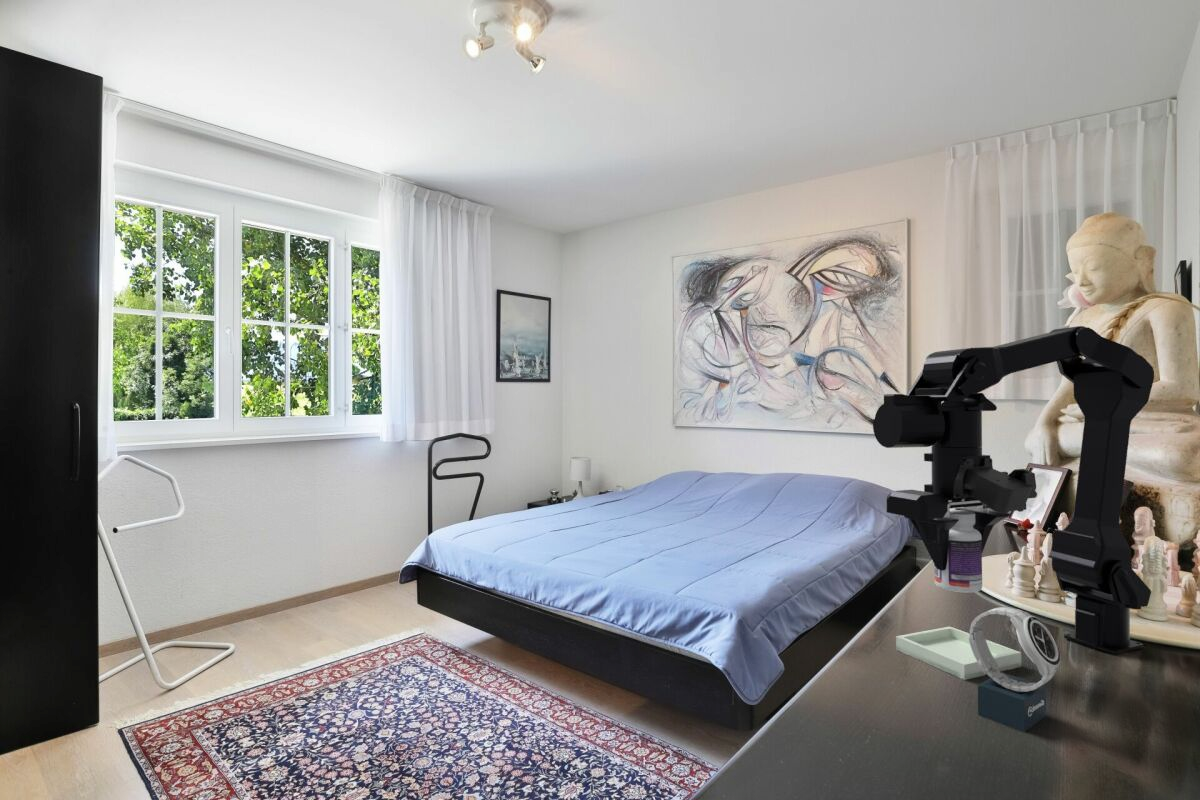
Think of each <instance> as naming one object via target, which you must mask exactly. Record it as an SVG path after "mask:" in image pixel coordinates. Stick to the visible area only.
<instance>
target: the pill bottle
mask: <svg viewBox="0 0 1200 800" xmlns="http://www.w3.org/2000/svg"><path fill="white" fill-rule="evenodd" d="M950 518H954V519H959V521H958V522H957V523H956V524H955V525H954V526H953V527H952V528H951V529H950V531H949V543H948V559H947V565H946V570H943V571H942V570H939V569H937V568H936V566H935V564H934V563H933V569H934V584H935V585H936V586H937V587H938V588H940V589H943V590H947V591H951V592H955V593H956V592H957V593H965V594H966V593H967V594H968V593H977V592H980V591H982V589H983V552H982V538H981V534H980V532H979V531H978V530H976V529H974V528H973V525H975V513H974V512H970V511H964V510H955V509H950Z"/></svg>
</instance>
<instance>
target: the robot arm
mask: <svg viewBox="0 0 1200 800" xmlns="http://www.w3.org/2000/svg"><path fill="white" fill-rule="evenodd" d="M1082 357H1083V358H1082ZM1052 363H1056V364H1057V368H1058V370H1059V373H1060V374H1061V376H1063V377H1064V378H1066V379H1067V380H1068V381H1069V382H1071V383H1072V384H1073V398H1074V400H1075V402H1076V404H1077V406H1078V408H1079V409H1080V411H1081V413H1082V415H1083V416H1084V417H1083V418H1084V421H1083V430H1082V439H1081V448H1080V455H1079V457H1080V458H1079V466H1078V474H1077V483H1076V489H1075V490H1076V491H1075V492H1076V493H1075V500H1074V506H1073V507H1074V509H1073V515H1072V520H1071V521H1070V522H1069V523H1068V524H1067V525H1066V527H1064V528H1063V529H1057V528H1055V529H1054V530H1053V531H1052V533H1051V548H1050V551H1049V554H1048V558H1050V559H1051V568H1052V571H1053V572H1055V576H1056V580H1057V582H1058V585H1059V588H1060V590H1061V591H1063V592H1068V593H1071V594H1074V595H1076V596H1075V609H1074V631H1073V632H1067V633H1064V634H1063V638H1064V639H1067V640H1068V641H1073V642H1076V643H1078V644H1082V645H1085V646H1087V647H1091V648H1094V649H1097V650H1100V651H1104V652H1106V653H1109V654H1114V655H1117V654H1121V653H1126V652H1130V651H1134V650H1138V649H1142V647H1143V648H1144V644H1143V643H1141V642H1139V641H1135V640H1132V639H1131V638H1130V637H1131V630H1130V629H1131V626H1130V625H1131V623H1130V621H1131V620H1130V618H1131V616H1130V615H1131V612H1130V609H1132V610H1142V608H1143V607H1144V608H1145V607H1147V606H1149V602H1150V598H1151V594H1152V591H1151V588H1150V587H1149V586H1148V585H1147V584H1146V583H1145V581H1143V580H1142V578H1141V577H1140V576H1139V575H1138V574H1137V573H1136V571H1134V569H1133V567H1132V566H1133V564H1132V563H1133V559H1132V549H1131V547H1130V545H1129V543H1128V541H1127V539H1126V537H1125V536H1124V534H1123V532H1122V530H1121V528H1120V520H1121V513H1122V511H1121V510H1122V504H1123V495H1124V494H1123V492H1124V487H1125V486H1124V484H1125V477H1126V476H1125V474H1126V467H1127V458H1128V448H1129V440H1130V432H1131V431H1130V430H1131V424H1132V421H1133V419H1134V418H1135V417H1136V416H1137V415H1138V414H1139V412H1141V410H1143V408H1144V407H1145V406H1146V405H1147V404H1148V402H1149V399H1150V395H1151V391H1152V388H1153V385H1154V384H1153V383H1154V379H1155V370H1154V367H1153V366H1152V364H1151V363H1150V362H1148V361H1147V359H1146V358H1145V357H1144V356H1143V355H1141V354H1138V353H1137V352H1136V351H1135V350H1133V349H1132V348H1130V347H1129V346H1126V345H1123V344H1121V343H1120V342H1116V341H1114V340H1112V339H1109V338H1106V337H1103V336H1102V335H1100V334H1099V333H1098V332H1096V331H1095V330H1094V329H1092V328H1090V327H1089V326H1088V327H1087V326H1084V325H1083V326H1082V325H1079V326H1071V327H1070V326H1069V327H1063V328H1062V327H1061V328H1054V329H1052V330H1051V331H1049V332H1047V333H1043V334H1039V335H1033V336H1030V337H1027V338H1023V339H1018V340H1015V341H1011V342H1007V343H1004V344H999V345H995V346H989V347H988V346H987V347H986V346H985V347H984V346H983V347H968V348H959V349H950V350H941V351H939V350H938V351H933V352H932V353H929V355H928V356H926V358H925V361H924V364H923V368H922V370H921V372H920V373H919V374H918V376H917V378H916V379H915V381H914V382H913V384H912V385H911V387H910V388H909V390H908V392H907V393H906V394H903V393H885V394H884V395H883V403H882V404H881V405H880V406H879V407H878V408H877V411H876V413H875V415H874V419H873V420H872V428H873V429H872V430H873V435H874V437H875V439H876V441H877V442H878V443H879V445H880V446H882V447H884V448H887V449H893V448H895V449H896V448H899V449H901V448H903V449H904V448H928V447H930V448H931V452H927V453H926V452H925V453H923V461H924V462H931V483H927V484H924V485H923V487H924V489H923V490H917V489H916V490H915V489H903V490H891V492H890V493H888V495H887V496H886V499H885V500H886V503H885V504H886V505H885V506H886V513H888V514H892V515H893V514H894V515H898V516H904V517H903V518H905V519H909V520H910V523H911V524H912V526H913V527H914V529H915V531H916V532H917V534H918V535H919V537H920V539H921V541H922V542H923V545H924V546H925V548H926V551H927V552H928V555H929V556H930V558H931V561H932V563H933V565H934V564H935V566H936V568H937V569H939V570H942V571H943V570H946V565H947V559H948V543H949V531H950V529H951V528H952V527H953V526H954V525H955V524H956V523H957V522H958V521H959V519H954V518H950V510H951V509H954V510H964V511H970V512H974V513H975V525H973V528H974V529H976V530H978V531H979V532H980V534H981V538H982V553H983V552H984V549H985V547H986V544H987V542H988V539H989V536H990V534H991V532H992V530H993V528H994V526H995V525H997V524H998V523H1000V522H1001V521H1002V520H1004V519H1007V518H1008V519H1009V518H1010V516H1011V513H1010V512H1016V511H1017V512H1018V513H1021V512H1024V511H1026V510H1027V502H1028V500H1029V499H1035V498H1037V496H1038V493H1037V491H1036V490H1037V481H1036V474H1035V472H1034V471H1033V472H1032V471H1030V470H1028V469H1026V468H1016V469H1013V470H1012V471H1011V472H1010V473H1009V472H1007V471H999V470H997V469H995V468H994V467H993V459H992V458H991V455H989V454H983V412H994V411H997V409H998V407H997V404H995V403H994V402H992V401H991V400H990V399H988V398H987V397H986V396H985V394H984V393H983V391H985V390H988V389H989V388H991V387H993V386H995V385H997V384H999V383H1000V382H1001V381H1002V380H1003V378H1005V377H1007V376H1008V375H1010V374H1014V373H1017V372H1022V371H1025V370H1029V369H1033V368H1036V367H1040V366H1044V365H1047V364H1052Z"/></svg>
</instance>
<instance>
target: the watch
mask: <svg viewBox="0 0 1200 800" xmlns="http://www.w3.org/2000/svg"><path fill="white" fill-rule="evenodd" d="M989 615H1001V616H1007V617H1009V620H1010V622H1011V623H1012V625H1013V626H1014V627H1015V629H1016V635H1017V640H1018V642H1019V644H1020V647H1021V648H1022V650H1023V652H1024V654H1025V656H1027V657H1028V658H1029V659H1030V661H1031V662H1032V663H1033V664H1034V665H1036V667H1037V670H1038V672H1039V675H1040V676H1042V677H1041V679H1040V680H1039V681H1037V682H1034V681H1032V680H1027V679H1025V678H1021V677H1017V676H1015V675H1011V674H1008V673H1005V672H1003V671H1000V670H999V669H998V668H997V666H998V664H997V663H996V661H995V659H994V658H993V656H992V654H991V652H990V650H989V648H988V645H987V642H986V640H987V639H986V637H985V636H984V633H983V629H982V624H983V623H984V621H985V620H986V618H988V616H989ZM969 634H970V637H969V643H970V646H971V649H972V651H973V654H974V656H975V658H976V660H977V662H978V664H979V666H980V667H981V669H982V671H983V672H984V674H986V675H985V676H988V677H989V678H988V679H986V680H984V681H983V682H980V683H978V685H977V715H979V716H980V717H984V718H987V719H989V720H991V721H994V722H997V723H999V724H1002V725H1004V726H1008V727H1011V728H1014V729H1016V730H1019V731H1021V732H1026V731H1027V730H1029V729H1030V728H1032V726H1034V725H1035V724H1037V723H1039V722H1040V721H1041V720H1043V719H1044V718H1046V717H1047V686H1046V685H1045V684H1047V683H1048V682H1049V681H1050V680H1051V679H1052V678H1053V677H1054V676H1055V674H1056V672H1057V670H1058V667H1059V664H1061V653H1060V649H1059V646H1058V643H1057V641H1056V639H1055V637H1054V635H1053V634H1052V632H1051V630H1050V629H1049V627H1048V626H1047V625H1046V624H1045V623H1044V622H1043V621H1042V620H1041V619H1039V618H1038V617H1036V616H1034V615H1031V614H1029V613H1028V612H1027V611H1023V610H1022V609H1018V608H1015V607H1011V606H1010V607H1009V606H999V607H995V608H992V609H989V610H987V611H985V612H982V613H981V614H979V615H978V616H976V617H975V618H974V620H972V622H971V624H970V627H969Z"/></svg>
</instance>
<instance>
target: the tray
mask: <svg viewBox="0 0 1200 800" xmlns="http://www.w3.org/2000/svg"><path fill="white" fill-rule="evenodd" d="M969 637H970V632H966V631H963V630H960V629H958V628H955V627H953V626H945V627H939V628H935V629H929V630H923V631H918V632H913V633H907V634H902V635H896V636H895V651H897V652H900V653H902V654H904V655H907V656H909V657H911V658H913V659H916V660H918V661H920V662H922V663H925V664H928V665H930V666H931V667H934V668H935V669H936V668H937V669H938V670H941V671H943V672H945V673H947V674H950V675H951V676H954V677H956V678H959V679H960V680H962V681H963V680H964V681H966V680H970V679H974V678H975V679H976V678H979V677H984V676H987V675H986V674H984V672H983V671H982V669H981V667H980V666H979V664H978V662H977V660H976V658H975V656H974V654H973V651H972V649H971V646H970V643H969ZM986 642H987V645H988V648H989V650H990V652H991V654H992V656H993V658H994V659H995V661H996V663H997V664H998V666H997V668H998V669H999V670H1000V671H1001V672H1006V671H1010V670H1014V669H1017V668H1021V667H1022V652H1021V651H1018V650H1015V649H1012V648H1010V647H1008V646H1004V645H1002V644H999V643H997V642H994V641H991V640H988V639H986Z"/></svg>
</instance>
